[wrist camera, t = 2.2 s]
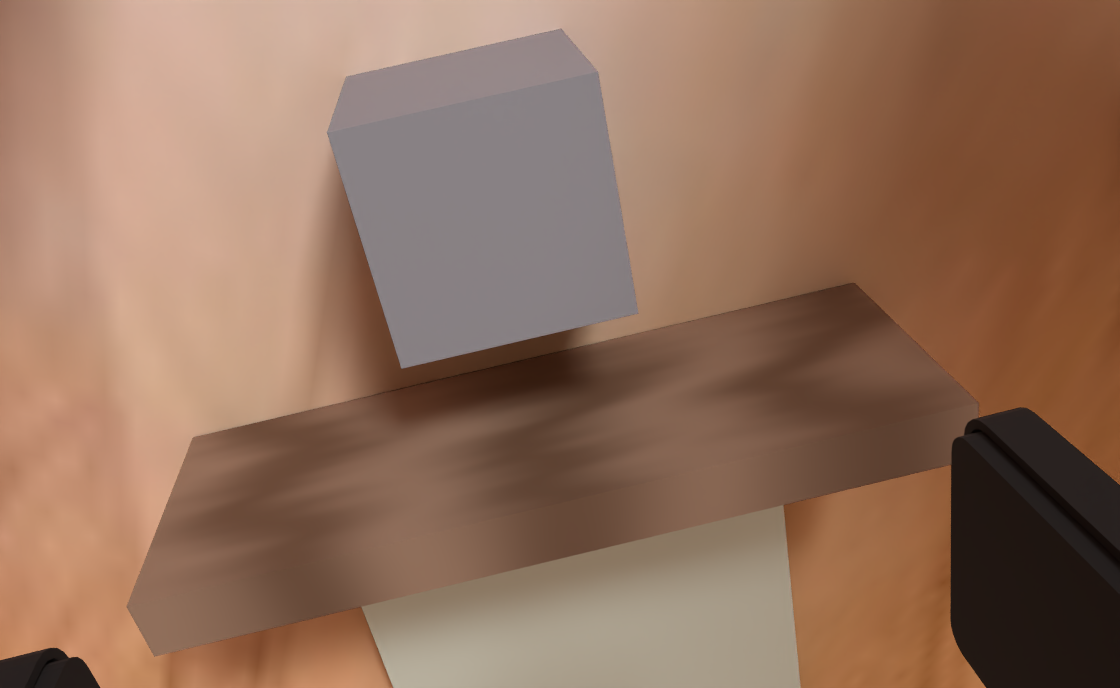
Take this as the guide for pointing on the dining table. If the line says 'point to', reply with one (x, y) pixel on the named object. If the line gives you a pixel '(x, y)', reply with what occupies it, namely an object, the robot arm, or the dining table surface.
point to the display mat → (610, 617)
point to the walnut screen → (540, 463)
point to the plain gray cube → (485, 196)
